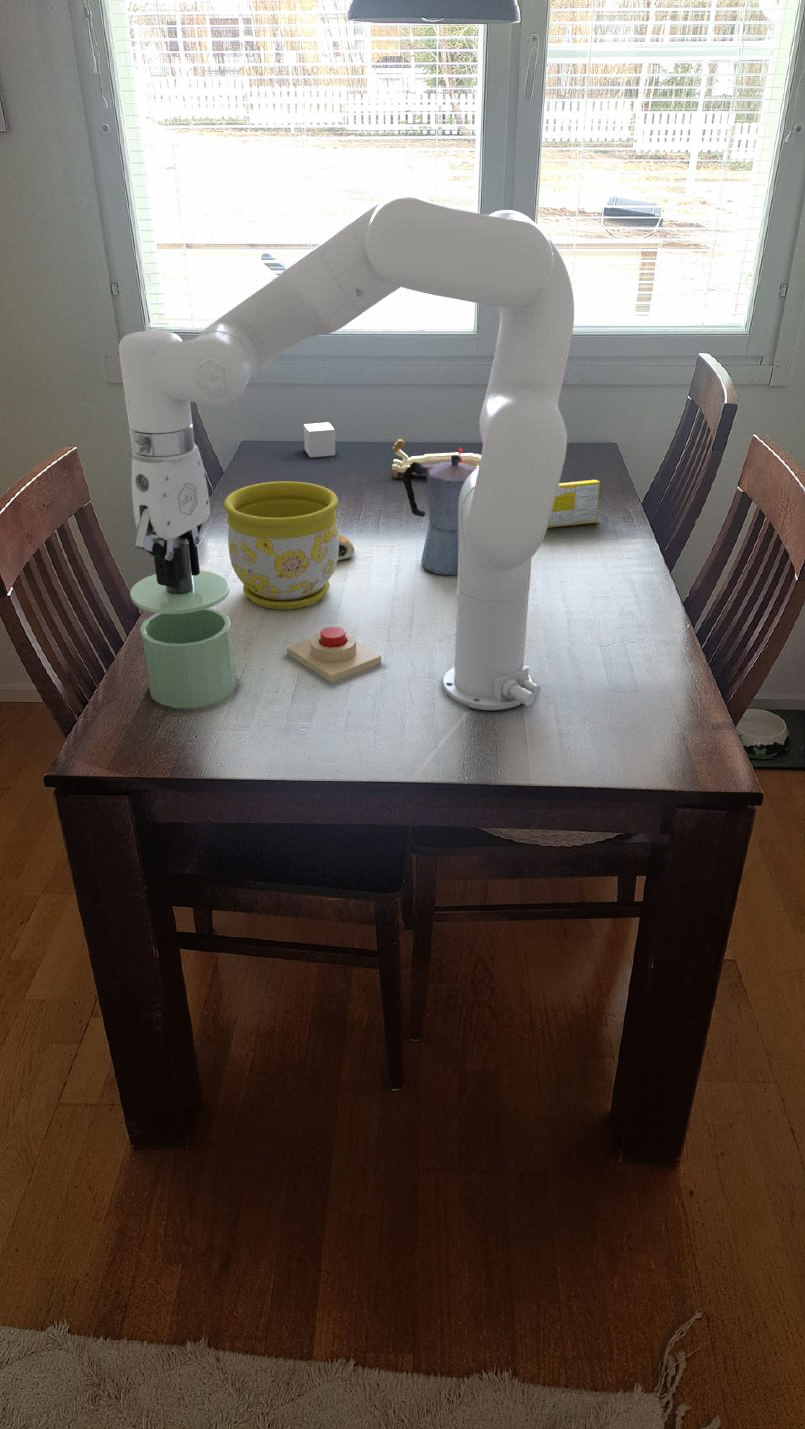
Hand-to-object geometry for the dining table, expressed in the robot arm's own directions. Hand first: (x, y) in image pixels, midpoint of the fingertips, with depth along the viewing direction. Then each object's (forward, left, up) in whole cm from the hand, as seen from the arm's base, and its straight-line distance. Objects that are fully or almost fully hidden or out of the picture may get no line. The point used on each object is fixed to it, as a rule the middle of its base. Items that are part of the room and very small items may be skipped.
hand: (178, 578), depth 132 cm
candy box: (+11, -86, -17) cm, 88 cm away
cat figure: (+46, -90, -17) cm, 103 cm away
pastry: (+27, -44, -17) cm, 54 cm away
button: (-6, -20, -14) cm, 25 cm away
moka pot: (+10, -56, -17) cm, 59 cm away
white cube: (+78, -78, -17) cm, 112 cm away
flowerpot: (+18, -28, -17) cm, 37 cm away
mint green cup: (0, 0, -17) cm, 17 cm away
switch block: (-6, -20, -17) cm, 27 cm away
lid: (0, 0, -2) cm, 2 cm away
